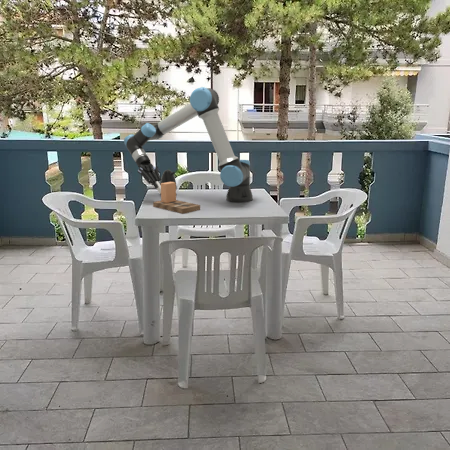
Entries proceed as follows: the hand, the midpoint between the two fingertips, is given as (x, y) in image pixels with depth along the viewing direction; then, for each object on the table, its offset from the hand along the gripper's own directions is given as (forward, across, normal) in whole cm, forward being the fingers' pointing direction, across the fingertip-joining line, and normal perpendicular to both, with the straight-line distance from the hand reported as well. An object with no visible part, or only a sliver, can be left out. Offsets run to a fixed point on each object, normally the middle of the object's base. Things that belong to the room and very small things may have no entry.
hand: (161, 192), depth 241 cm
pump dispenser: (-8, -21, -19) cm, 29 cm away
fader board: (+13, 0, +3) cm, 14 cm away
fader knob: (+7, 0, +1) cm, 7 cm away
